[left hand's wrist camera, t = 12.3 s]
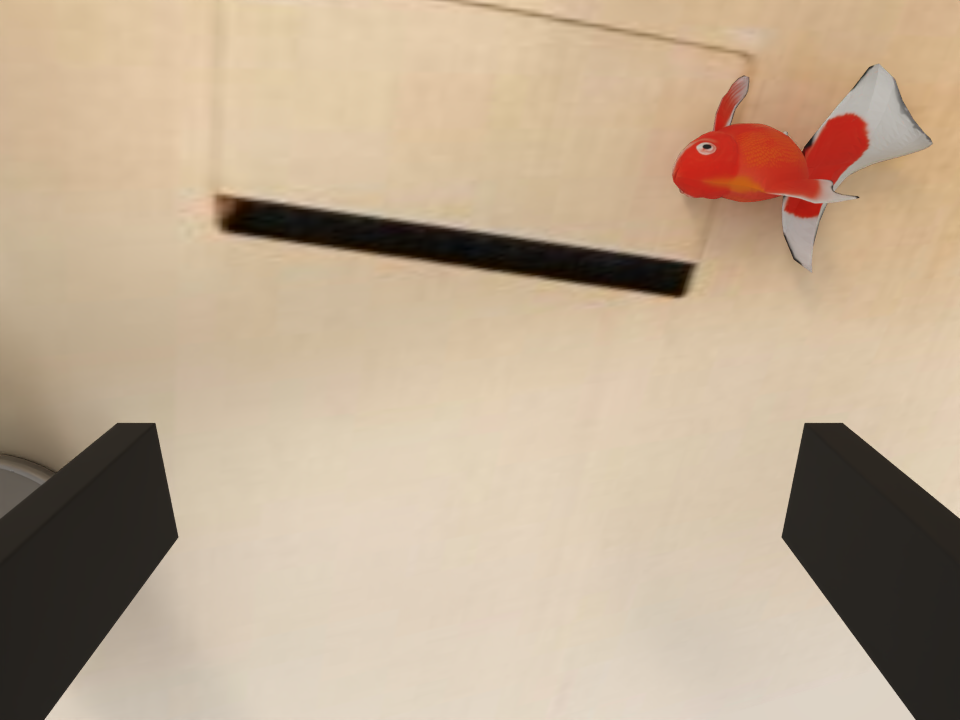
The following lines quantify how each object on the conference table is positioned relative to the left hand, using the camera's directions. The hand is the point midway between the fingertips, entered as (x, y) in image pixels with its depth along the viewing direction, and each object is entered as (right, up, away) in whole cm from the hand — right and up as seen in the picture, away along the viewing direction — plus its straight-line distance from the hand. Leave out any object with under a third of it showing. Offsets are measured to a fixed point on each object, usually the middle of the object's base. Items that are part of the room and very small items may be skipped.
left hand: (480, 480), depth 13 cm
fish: (+19, +16, +27) cm, 36 cm away
